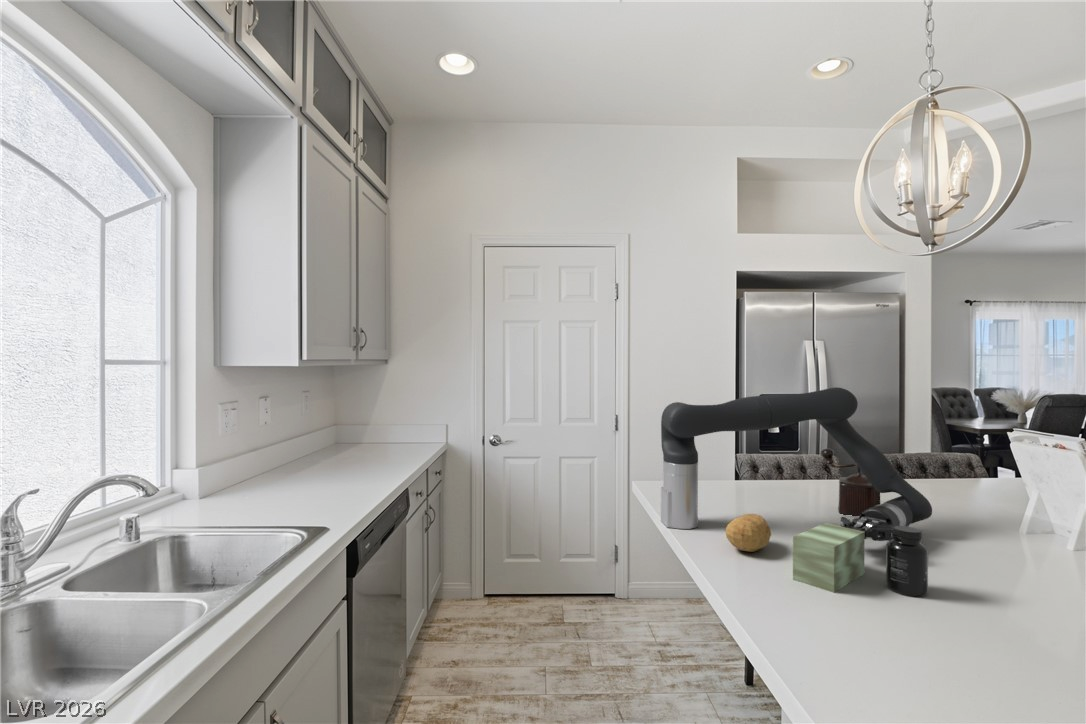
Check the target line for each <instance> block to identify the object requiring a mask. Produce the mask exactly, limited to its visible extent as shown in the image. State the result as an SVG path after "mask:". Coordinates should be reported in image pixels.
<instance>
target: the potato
mask: <svg viewBox="0 0 1086 724" xmlns="http://www.w3.org/2000/svg"><path fill="white" fill-rule="evenodd" d="M725 535H726V539H727V540H728V542H730V544H731V545H732V546H733V547H734V548H736V549H738V550H739V551H745V552H749V553H751V552H752V553H754V552H757V551H758V550H761V549H762V548H764V547H767V546H768V544H769V541H770V540H771V539H770V538H771V536H772V530H771V528H770V526H769V524H768V522H767V520H766V519H765V518H764V517H763V516H761V515H759V514H757V513H756V514H755V513H746V514H743V515H740V516H738V517H736V518H733V520H731V521H730V522H729V523H728V524H727V525H726V527H725Z"/></svg>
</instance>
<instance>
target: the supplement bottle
mask: <svg viewBox="0 0 1086 724" xmlns="http://www.w3.org/2000/svg"><path fill="white" fill-rule="evenodd" d="M922 532H923V531H922V530H921V529H918V528H915V527H911V526H908V527H907V526H894V527H893V528H892V537H894V539H891V540H889V541H886V554H885V555H886V558H885V562H886V563H885V564H886V565H885V571H886V572H885V575H886V576H885V577H886V578H885V583H886V586H887V588H888V589H889V590H891V591H892V592H895V593H898V594H900V595H904V596H909V597H924V596H926V595H927V594H928V592H929V591H928V589H929V551H928V548H927V547H926V546H925V544H923V543H921V542H922V541H923V537H922V536H923V535H922Z"/></svg>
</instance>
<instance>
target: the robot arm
mask: <svg viewBox="0 0 1086 724" xmlns="http://www.w3.org/2000/svg"><path fill="white" fill-rule="evenodd" d="M858 405H859V403H858V399H857V397H856V396H855V394H853V392H852V391H849V390H847V389H846V388H842V387H837V386H836V387H829V388H826V389H821V390H815V391H811V392H810V391H809V392H804V393H785V394H784V393H783V394H763V395H752V396H746V397H741V398H740V397H739V398H736V399H733V400H729V401H726V402H723V403H719V404H689V403H688V404H687V403H686V402H685V403H684V402H678V401H677V402H676V401H675V402H672V403H669V404H668V405H667V406H665V408H664V410H663V412H662V414H661V417H660V431H661V433H660V437H661V451H662V455H663V456H662V457H663V462H662V463H663V470H662V471H663V473H662V475H663V476H662V479H663V481H662V482H663V483H662V486H661V488H660V522H661V523H662V524H663V525H664V526H665V527H666V528H674V529H679V530H689V529H695V528H697V527H698V525H699V515H698V514H699V513H698V512H699V508H698V507H699V505H698V504H699V452H698V450H697V448H696V444H695V443H696V442H695V437H699V436H703V435H708V434H714V433H720V432H721V433H722V432H749V431H750V432H751V431H762V430H763V431H764V430H771V429H775V428H776V429H777V428H781V427H785V426H789V425H792V424H797V423H800V422H805V421H811V420H816V422H817V423H818V424H819V425H820V426H821V427H822V428H823V429H824V430H825V431H826V432H827V433H828V434H829V435H830V436H831V437H832V438H833V439H834V440H835V441H836V442H837V444H839V445H840V447H842V449H843V450H844V451H845V453H847V455H849V458H851V459H852V460H853V461H854V463H856V464H857V465H858V467H859V468H860V469H861V473H863V475H865V476H866V478H867V479H868V480H869V482H870V483H871V484H872V486H873V487H874V488H875V490H876V491H877V492H879V493H880V494H887V493H897V494H898V495H899V496H898V497H897V496H896V497H895V498H891V499H889V500H887V501H885V502H882V503H880V504H879V505H876V506H874V507H872V508H869V509H867V510H865V511H864V512H862V514H861V515H860V517H854V518H853V519H852V520H850V518H847V516H841V517H840V526H841V527H846V528H850V529H854V530H859V531H863V532H865V540H869V539H870V540H872V541H875V542H876V541H878V542H884V541H885V542H888V541H889V540H891V539H894V537H892V528H893V527H894V526H907V527H910V525H912V524H914V523H918V522H921V521H924V520H928V519H929V518H931V516H932V514H933V508H932V505H931V503H930V501H929V500H928V498H926V496H925V495H923V493H921V491H919V490H917V489H916V488H915V487H913V486H912V485H911V484H910V483H908V481H907V480H905V478H903V476H901V475H900V473H899V472H898V471H897V469H896V468H895V467H894V466H893V464H892V462H891V461H890V460H889V459H888V457H886V455H885V454H884V453H883V452H882V451H881V450H880V449H878V447H876V446H874V444H872V443H871V442H869V441H868V440H867V439H865V438H864V437H863V436H862V435H861V434H860V433H859V432H858V431H856V429H855V428H854V427H853V425H851V423H850V421H849V418H851V417H853V415H854V414H855V413H856V412H857V409H858ZM857 465H856V466H857Z"/></svg>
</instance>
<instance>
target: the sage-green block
mask: <svg viewBox="0 0 1086 724" xmlns="http://www.w3.org/2000/svg"><path fill="white" fill-rule="evenodd" d="M865 540H866V539H865V532H863V531H859V530H854V529H850V528H846V527H841V525H836V524H833V523H832V524H831V523H828V522H824V523H822V524H819V525H817V526H814V527H812V528H810V529H808V530H805V531H804V532H801V533H798V534H796V535H794V536H792V580H793V581H796V582H798V583H802V584H805V585H809V586H811V587H815V588H818V589H821V590H824V591H828V592H830V593H836V592H837V591H839V590H840V589H842V588H844V587H845V586H847V585H848V583H849V584H850V583H852V582H853V581H855V580H857V579H858V578H860V577H861V576H863V575H864V574H865V546H866V545H865ZM856 578H857V579H856ZM851 581H852V582H851Z"/></svg>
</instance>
